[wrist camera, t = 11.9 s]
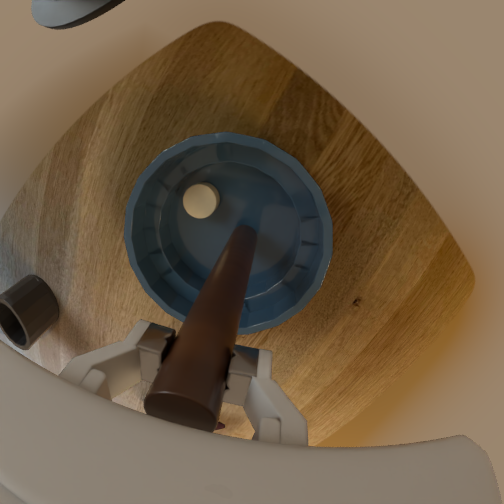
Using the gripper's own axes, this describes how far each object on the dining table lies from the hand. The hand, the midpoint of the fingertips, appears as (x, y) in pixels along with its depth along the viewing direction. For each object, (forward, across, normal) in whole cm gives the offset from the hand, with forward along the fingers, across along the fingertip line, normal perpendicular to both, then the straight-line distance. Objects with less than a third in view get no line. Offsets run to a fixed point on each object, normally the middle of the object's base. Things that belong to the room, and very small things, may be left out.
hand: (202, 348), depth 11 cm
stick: (+16, 0, +1) cm, 16 cm away
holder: (+18, +31, +18) cm, 40 cm away
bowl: (+18, +2, 0) cm, 19 cm away
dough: (+18, +5, -2) cm, 18 cm away
